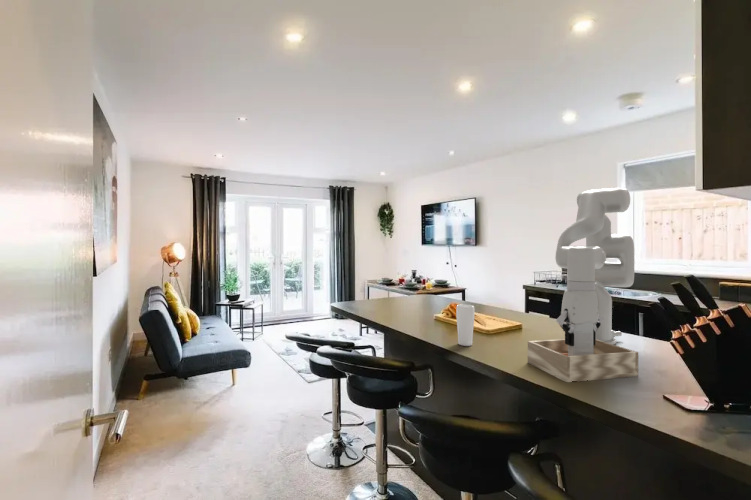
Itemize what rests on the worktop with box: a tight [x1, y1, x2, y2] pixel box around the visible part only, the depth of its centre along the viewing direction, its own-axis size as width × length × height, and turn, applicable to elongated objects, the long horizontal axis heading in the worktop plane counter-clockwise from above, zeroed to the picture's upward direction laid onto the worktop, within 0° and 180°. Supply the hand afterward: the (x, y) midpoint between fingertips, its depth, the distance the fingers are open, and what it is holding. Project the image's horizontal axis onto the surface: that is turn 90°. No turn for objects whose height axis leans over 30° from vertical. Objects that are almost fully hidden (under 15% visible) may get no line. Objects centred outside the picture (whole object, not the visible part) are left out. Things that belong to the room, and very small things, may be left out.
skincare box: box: [568, 322, 593, 356], centre depth 117 cm, size 6×4×12 cm
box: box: [527, 338, 639, 383], centre depth 117 cm, size 24×18×7 cm
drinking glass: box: [455, 303, 475, 347], centre depth 145 cm, size 7×7×15 cm
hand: (580, 344), depth 117 cm, fingers closed on skincare box, 6 cm apart
